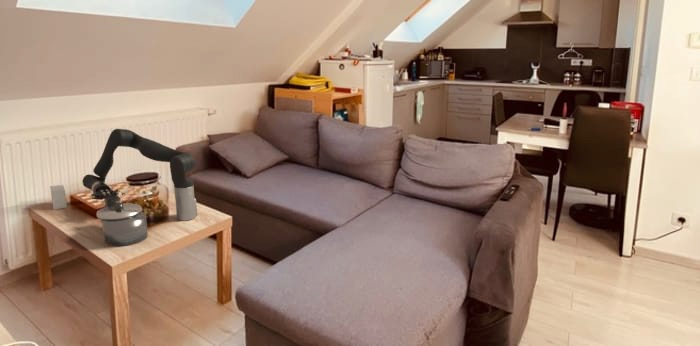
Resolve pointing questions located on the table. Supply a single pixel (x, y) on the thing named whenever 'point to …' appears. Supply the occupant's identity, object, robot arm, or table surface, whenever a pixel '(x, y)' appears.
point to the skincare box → (58, 197)
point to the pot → (125, 230)
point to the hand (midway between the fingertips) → (109, 198)
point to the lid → (118, 209)
